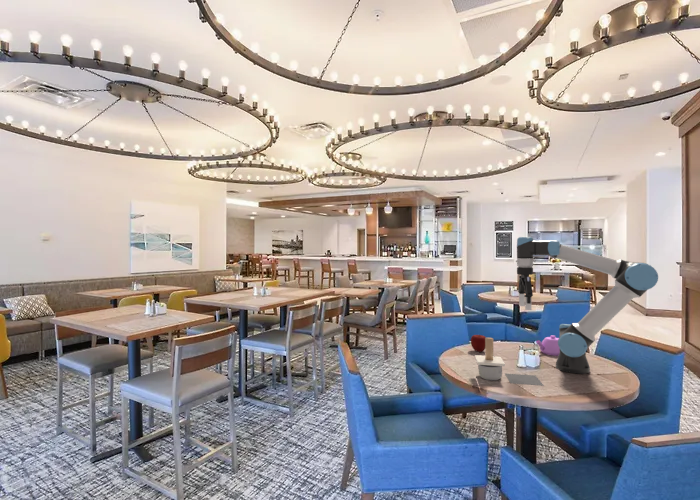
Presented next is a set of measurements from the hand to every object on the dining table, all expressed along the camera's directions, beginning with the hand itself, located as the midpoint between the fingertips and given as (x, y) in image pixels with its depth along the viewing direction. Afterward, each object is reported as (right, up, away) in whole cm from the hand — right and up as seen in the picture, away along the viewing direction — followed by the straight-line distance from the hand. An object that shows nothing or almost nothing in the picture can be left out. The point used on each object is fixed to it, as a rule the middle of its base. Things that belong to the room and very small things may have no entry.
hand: (525, 308), depth 191 cm
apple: (-11, -32, +35) cm, 49 cm away
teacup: (-23, -32, -13) cm, 42 cm away
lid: (-23, -24, -13) cm, 36 cm away
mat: (-9, -32, -18) cm, 37 cm away
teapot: (+31, -32, +31) cm, 54 cm away
